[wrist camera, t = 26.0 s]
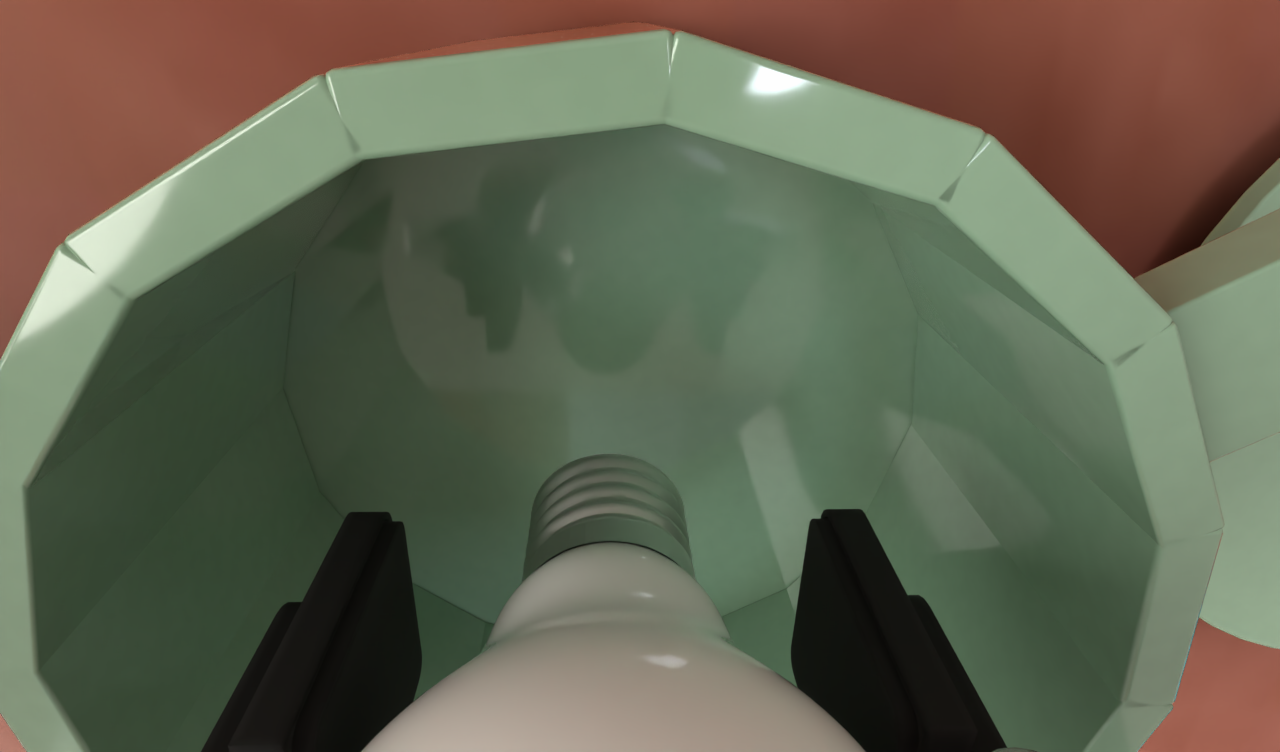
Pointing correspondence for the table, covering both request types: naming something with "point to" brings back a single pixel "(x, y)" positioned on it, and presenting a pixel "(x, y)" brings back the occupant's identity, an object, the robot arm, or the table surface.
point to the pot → (615, 380)
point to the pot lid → (1248, 493)
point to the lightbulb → (611, 643)
